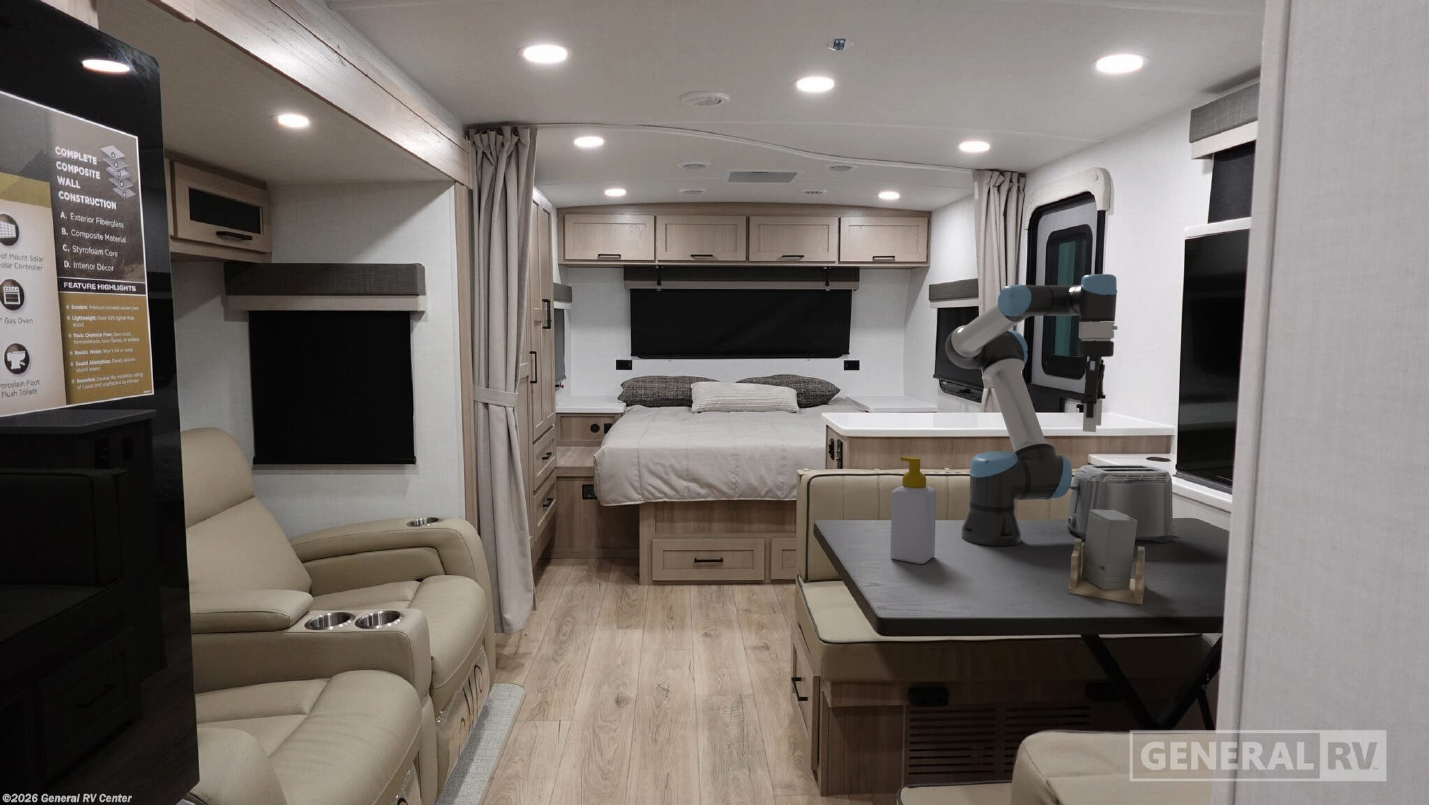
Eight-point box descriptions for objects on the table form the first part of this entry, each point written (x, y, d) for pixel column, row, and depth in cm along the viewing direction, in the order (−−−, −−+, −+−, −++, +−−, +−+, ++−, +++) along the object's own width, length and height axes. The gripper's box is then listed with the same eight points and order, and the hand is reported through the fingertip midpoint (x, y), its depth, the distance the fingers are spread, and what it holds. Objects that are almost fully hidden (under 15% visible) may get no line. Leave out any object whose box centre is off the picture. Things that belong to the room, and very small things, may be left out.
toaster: (1055, 528, 215) (1058, 462, 213) (1161, 529, 213) (1165, 463, 211) (1080, 545, 198) (1084, 473, 196) (1196, 546, 196) (1200, 474, 194)
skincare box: (1080, 578, 168) (1083, 508, 167) (1111, 577, 169) (1114, 508, 167) (1102, 591, 160) (1106, 518, 159) (1134, 590, 161) (1138, 517, 159)
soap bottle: (901, 550, 193) (904, 454, 191) (936, 556, 188) (939, 457, 185) (888, 559, 186) (890, 459, 183) (923, 566, 181) (926, 462, 178)
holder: (1067, 592, 162) (1069, 547, 161) (1075, 574, 174) (1077, 532, 173) (1142, 605, 155) (1144, 557, 154) (1144, 585, 167) (1147, 541, 166)
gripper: (1109, 340, 167) (1105, 435, 169) (1117, 339, 188) (1113, 423, 190) (1072, 340, 171) (1068, 433, 173) (1084, 339, 192) (1080, 421, 194)
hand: (1092, 428), depth 181 cm, fingers open, 13 cm apart
